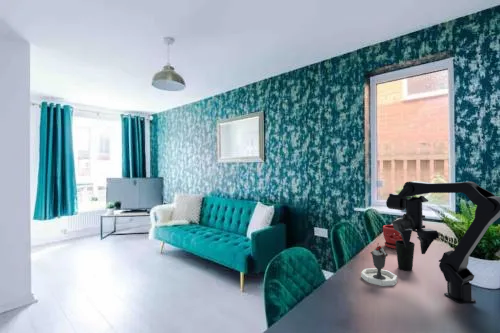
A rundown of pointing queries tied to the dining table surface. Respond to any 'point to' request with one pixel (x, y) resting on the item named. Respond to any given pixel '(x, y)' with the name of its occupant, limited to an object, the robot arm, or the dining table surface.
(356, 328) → the dining table surface
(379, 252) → the sundae
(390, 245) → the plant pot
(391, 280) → the dish
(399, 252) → the cup
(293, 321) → the dining table surface
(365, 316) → the dining table surface
